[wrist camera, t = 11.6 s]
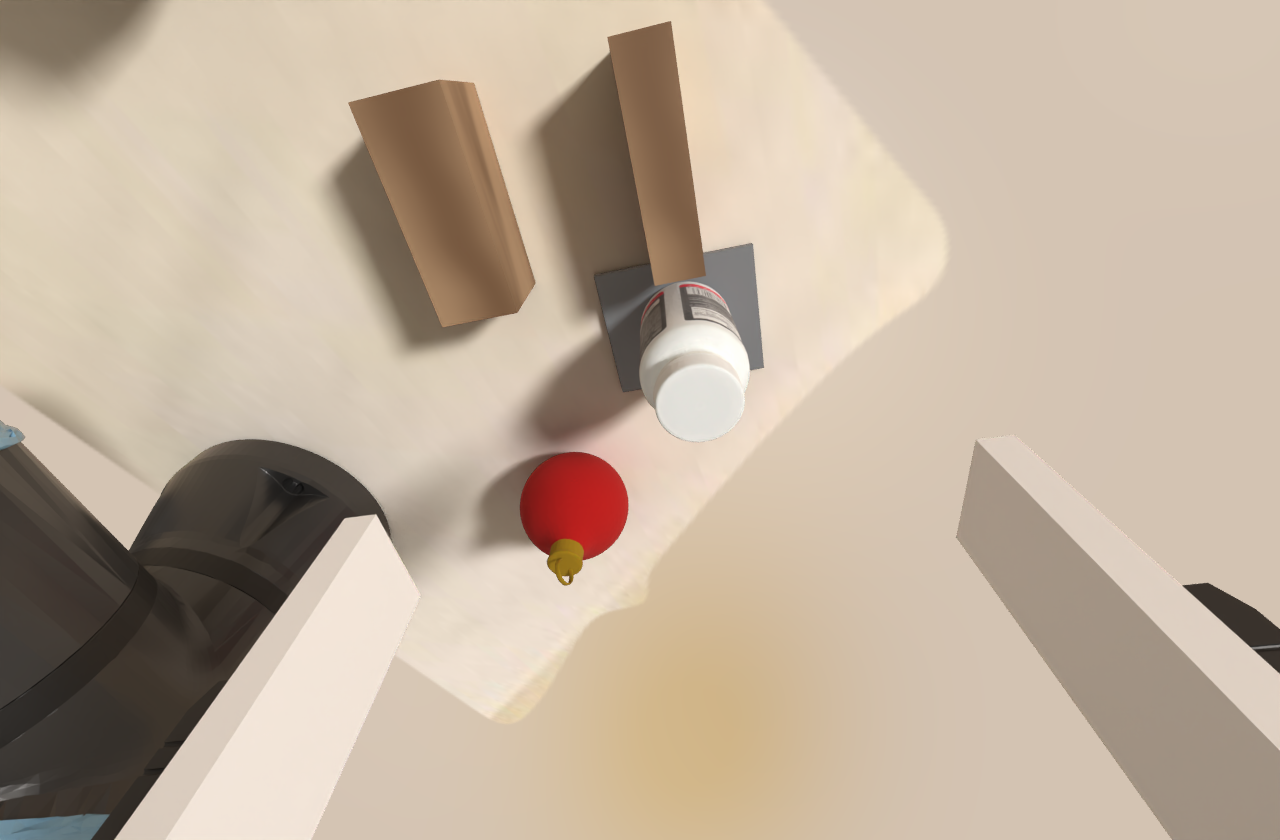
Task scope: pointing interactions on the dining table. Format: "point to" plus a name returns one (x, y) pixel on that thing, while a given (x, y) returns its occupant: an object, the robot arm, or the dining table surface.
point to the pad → (635, 285)
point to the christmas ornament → (573, 510)
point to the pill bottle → (692, 362)
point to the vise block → (477, 196)
